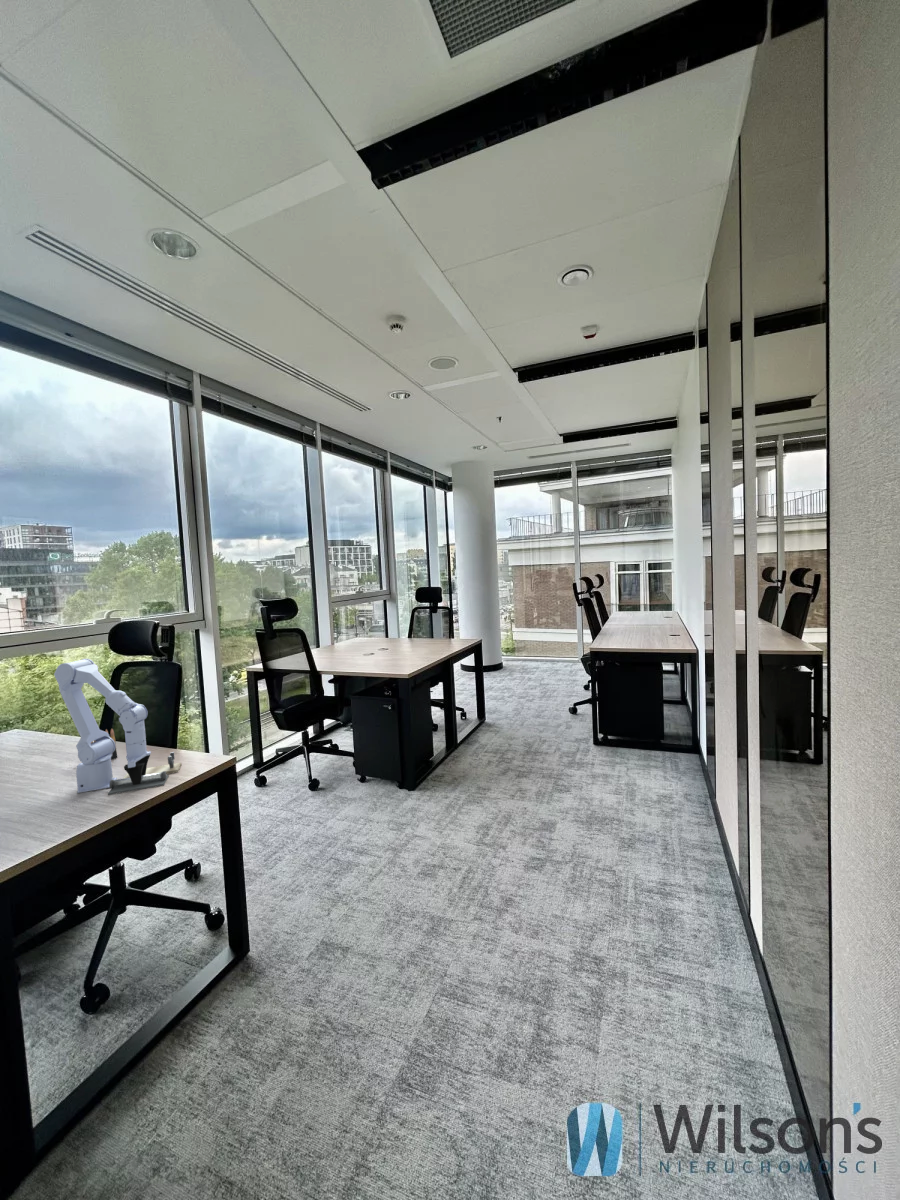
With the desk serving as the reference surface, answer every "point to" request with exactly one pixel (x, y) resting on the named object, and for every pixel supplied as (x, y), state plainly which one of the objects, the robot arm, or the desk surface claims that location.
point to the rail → (143, 779)
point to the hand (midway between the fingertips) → (139, 780)
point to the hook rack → (163, 767)
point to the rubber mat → (137, 786)
